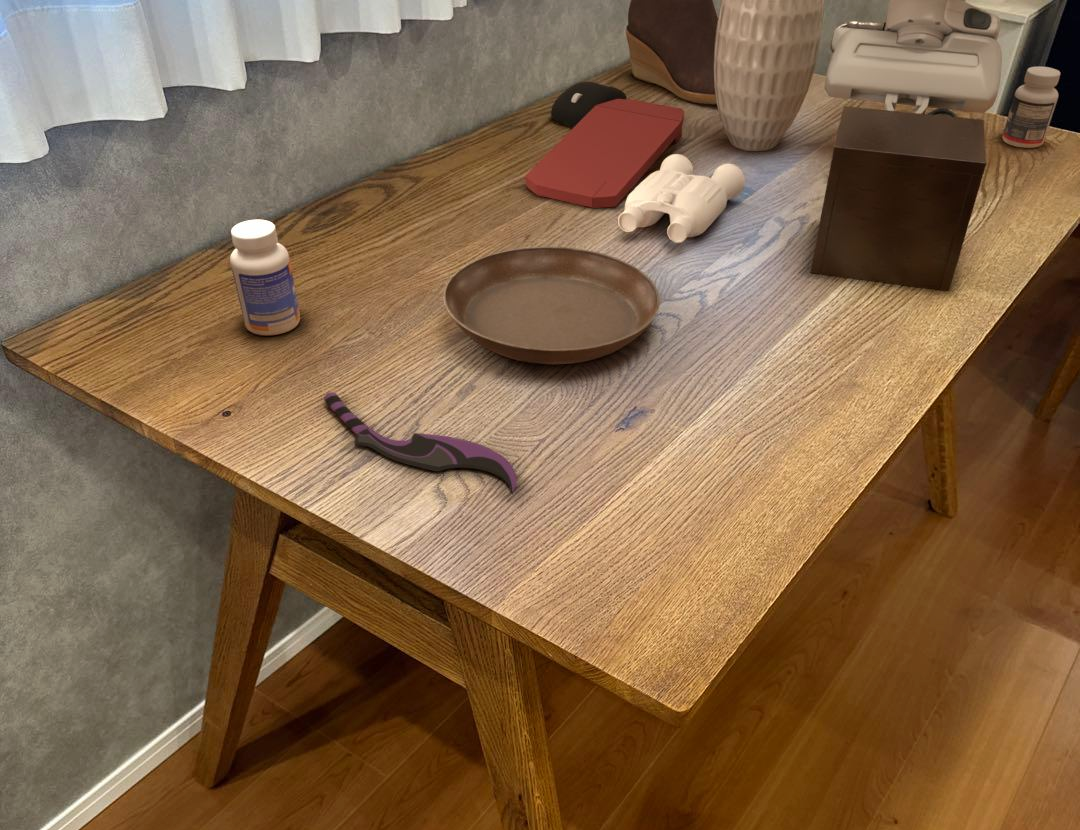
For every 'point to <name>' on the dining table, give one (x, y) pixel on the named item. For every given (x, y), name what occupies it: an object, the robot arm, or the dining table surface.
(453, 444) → the knife
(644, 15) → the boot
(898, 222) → the dark wooden box
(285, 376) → the dining table surface
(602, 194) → the carton
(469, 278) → the plant saucer
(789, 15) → the vase
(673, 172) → the binoculars
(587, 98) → the computer mouse
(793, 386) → the dining table surface
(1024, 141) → the pill bottle
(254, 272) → the pill bottle
